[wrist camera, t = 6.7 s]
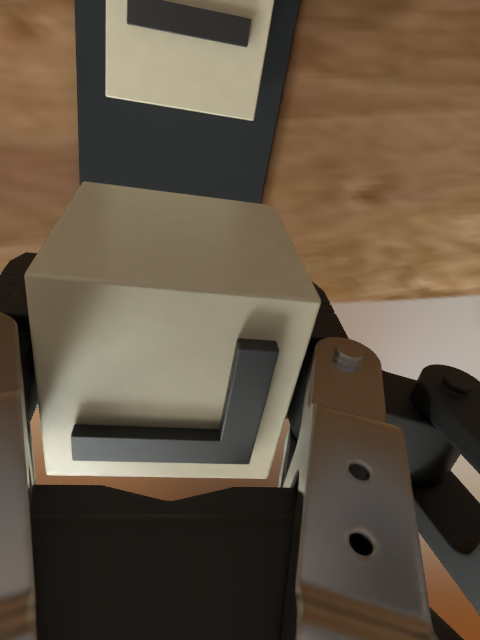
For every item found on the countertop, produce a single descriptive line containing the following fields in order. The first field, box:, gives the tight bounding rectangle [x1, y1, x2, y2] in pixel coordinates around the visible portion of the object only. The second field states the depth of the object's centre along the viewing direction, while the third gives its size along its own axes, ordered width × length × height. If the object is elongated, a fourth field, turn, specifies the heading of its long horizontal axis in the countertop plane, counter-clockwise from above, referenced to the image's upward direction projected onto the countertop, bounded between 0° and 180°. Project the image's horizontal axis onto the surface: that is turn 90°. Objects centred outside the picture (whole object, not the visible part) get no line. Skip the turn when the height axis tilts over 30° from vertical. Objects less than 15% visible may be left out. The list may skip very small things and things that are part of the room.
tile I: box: [106, 0, 274, 121], centre depth 14 cm, size 5×5×5 cm
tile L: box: [24, 181, 321, 479], centre depth 10 cm, size 5×5×5 cm
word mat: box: [75, 0, 300, 204], centre depth 17 cm, size 15×8×1 cm, turn 170°
